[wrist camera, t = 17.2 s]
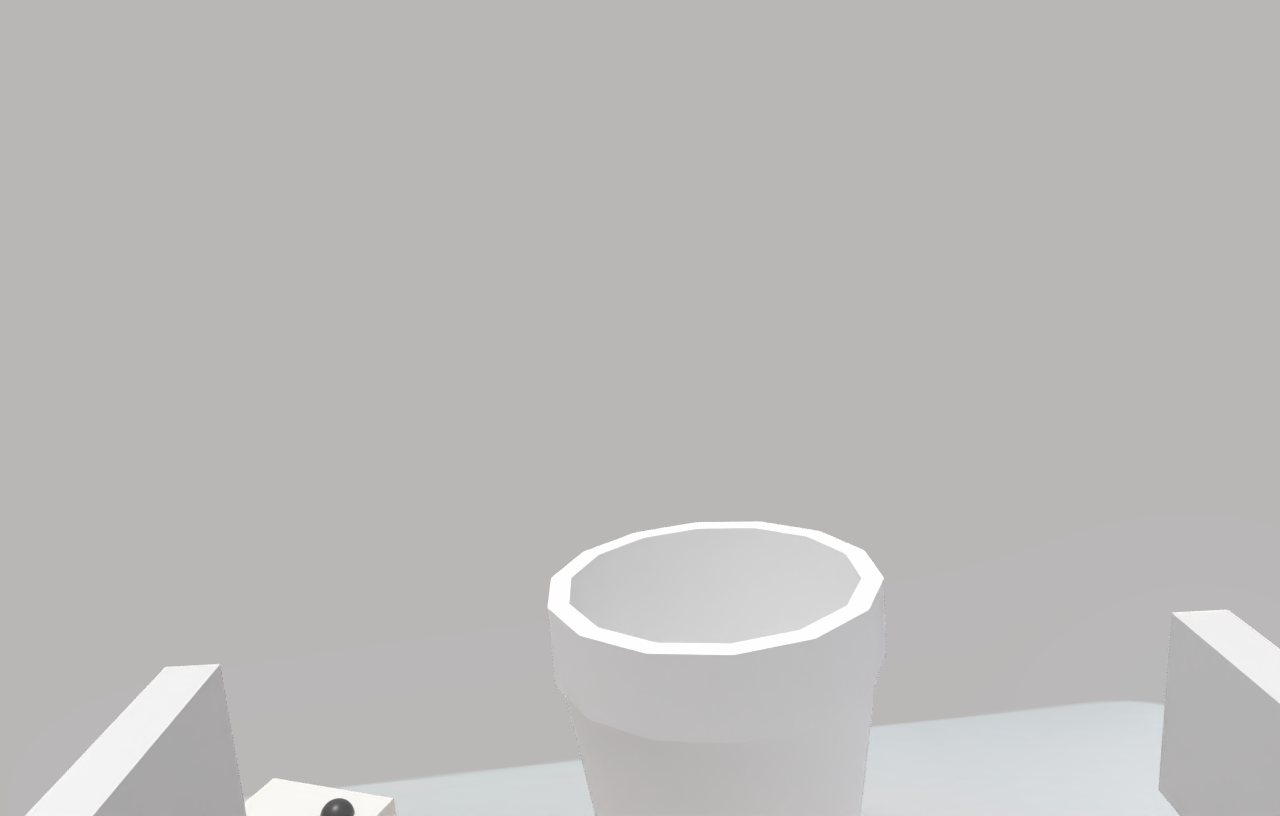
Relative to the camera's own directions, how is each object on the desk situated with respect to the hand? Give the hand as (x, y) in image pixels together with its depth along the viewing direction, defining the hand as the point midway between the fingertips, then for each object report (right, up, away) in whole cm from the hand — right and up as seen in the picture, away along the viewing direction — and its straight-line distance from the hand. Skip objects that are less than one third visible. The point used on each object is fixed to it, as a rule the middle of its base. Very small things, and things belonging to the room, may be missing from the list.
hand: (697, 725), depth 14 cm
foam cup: (+2, -13, +17) cm, 22 cm away
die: (-12, -14, +19) cm, 27 cm away
